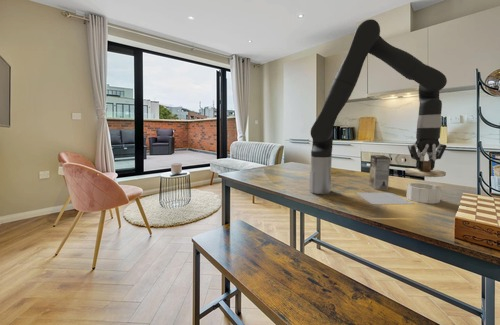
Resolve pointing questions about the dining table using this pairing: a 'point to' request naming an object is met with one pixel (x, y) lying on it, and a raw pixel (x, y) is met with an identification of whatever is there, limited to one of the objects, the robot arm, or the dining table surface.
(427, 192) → the bowl
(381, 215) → the dining table surface
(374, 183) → the coffee box
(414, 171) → the lid
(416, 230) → the dining table surface
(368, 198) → the mat
